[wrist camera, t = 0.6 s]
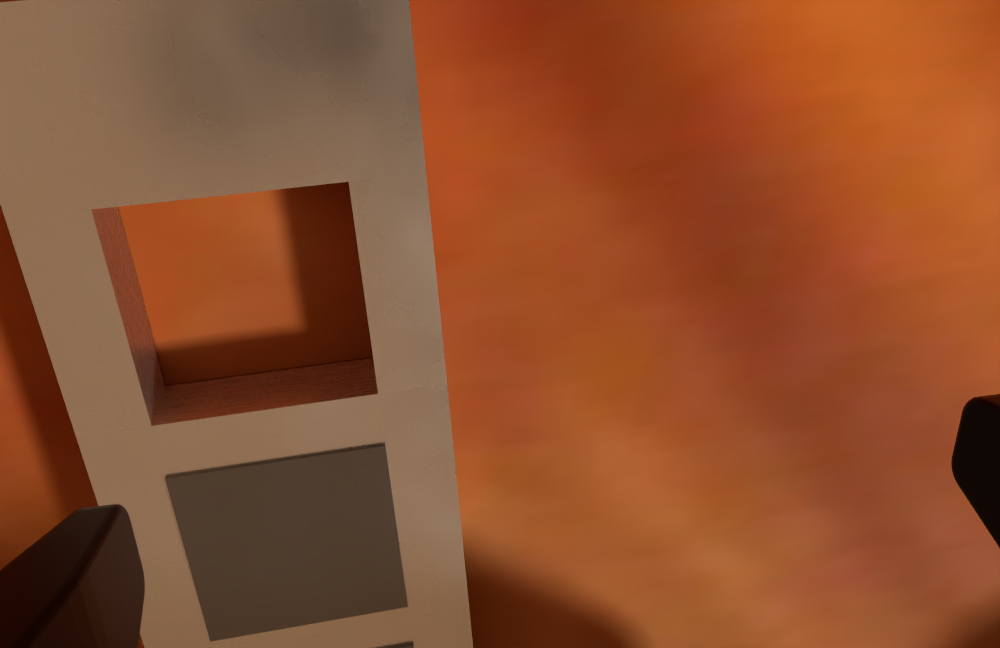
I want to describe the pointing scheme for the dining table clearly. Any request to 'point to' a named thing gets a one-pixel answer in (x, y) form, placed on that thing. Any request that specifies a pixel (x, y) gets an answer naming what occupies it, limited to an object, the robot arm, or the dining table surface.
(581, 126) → the dining table surface
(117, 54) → the square hole board
